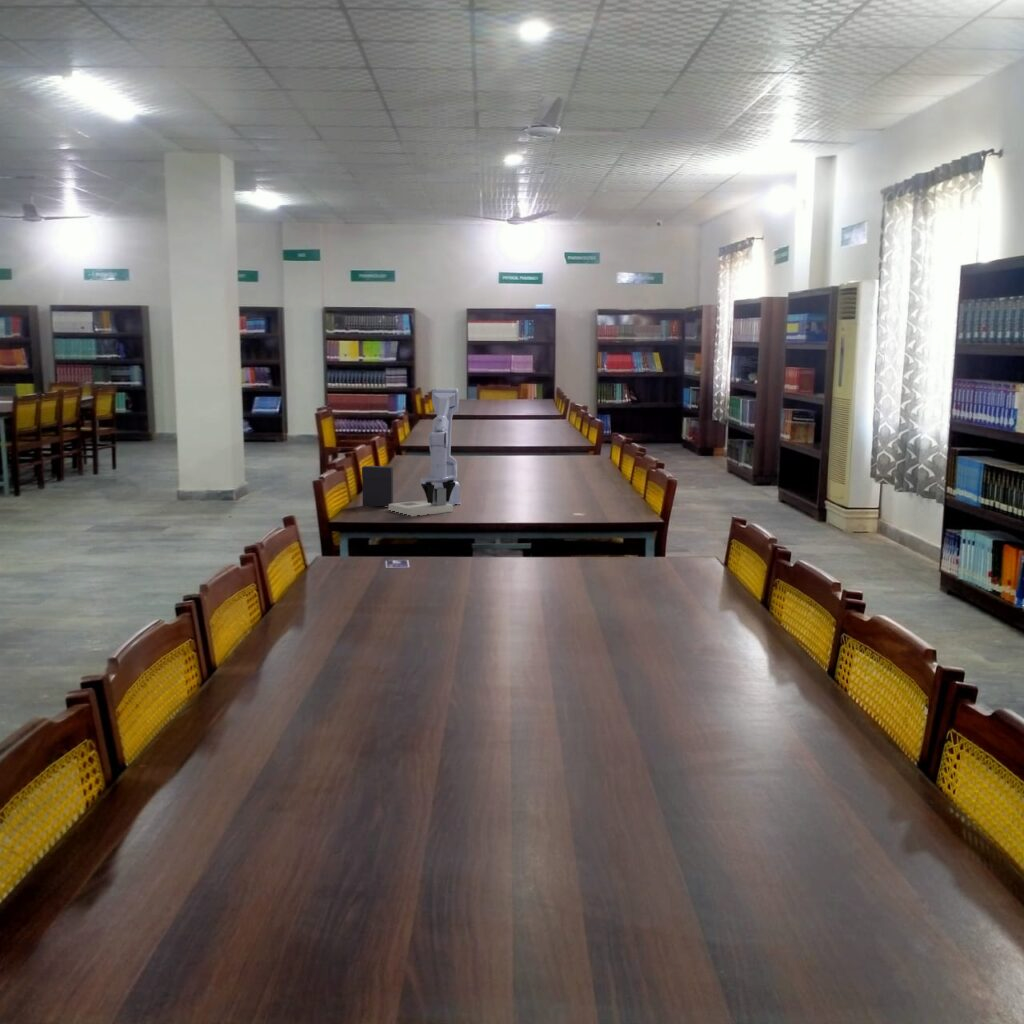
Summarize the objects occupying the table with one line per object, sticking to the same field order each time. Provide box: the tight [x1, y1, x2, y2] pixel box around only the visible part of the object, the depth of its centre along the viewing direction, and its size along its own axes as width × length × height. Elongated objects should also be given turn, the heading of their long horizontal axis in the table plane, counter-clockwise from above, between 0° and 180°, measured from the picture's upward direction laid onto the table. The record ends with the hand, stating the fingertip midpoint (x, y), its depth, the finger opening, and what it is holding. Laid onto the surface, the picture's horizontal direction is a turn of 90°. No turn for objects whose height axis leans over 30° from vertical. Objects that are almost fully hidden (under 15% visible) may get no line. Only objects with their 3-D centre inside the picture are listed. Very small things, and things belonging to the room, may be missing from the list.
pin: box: [431, 487, 446, 506], centre depth 352 cm, size 4×4×6 cm
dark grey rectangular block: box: [361, 465, 394, 508], centre depth 360 cm, size 11×4×15 cm, turn 84°
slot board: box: [388, 499, 454, 517], centre depth 352 cm, size 18×15×2 cm
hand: (438, 502), depth 352 cm, fingers open, 7 cm apart
